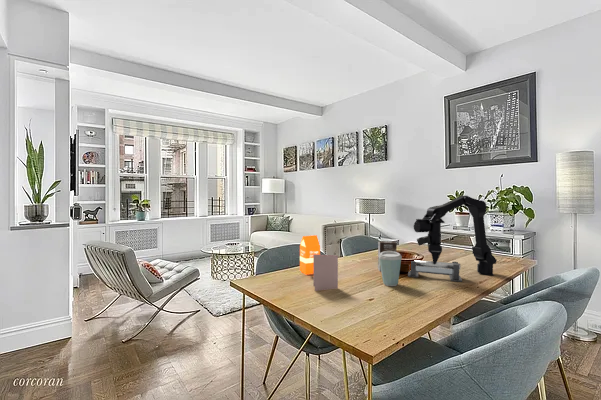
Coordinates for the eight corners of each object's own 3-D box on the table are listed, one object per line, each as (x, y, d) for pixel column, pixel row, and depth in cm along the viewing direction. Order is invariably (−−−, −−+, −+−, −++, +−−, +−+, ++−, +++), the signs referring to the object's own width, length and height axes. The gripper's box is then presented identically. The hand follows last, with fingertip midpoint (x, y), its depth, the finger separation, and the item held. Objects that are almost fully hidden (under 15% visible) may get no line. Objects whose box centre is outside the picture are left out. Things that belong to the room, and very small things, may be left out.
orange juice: (299, 271, 169) (299, 235, 169) (313, 269, 173) (313, 234, 172) (305, 274, 162) (305, 237, 162) (320, 272, 166) (320, 236, 165)
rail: (459, 268, 154) (459, 263, 154) (460, 270, 151) (460, 264, 151) (409, 264, 163) (409, 259, 163) (409, 265, 160) (409, 260, 160)
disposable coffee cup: (403, 288, 139) (403, 255, 138) (378, 287, 141) (378, 254, 141) (400, 281, 149) (400, 251, 149) (377, 280, 152) (377, 250, 151)
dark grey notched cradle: (460, 277, 157) (460, 261, 157) (462, 282, 149) (462, 265, 148) (408, 272, 166) (408, 257, 166) (407, 276, 158) (408, 261, 158)
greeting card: (338, 287, 141) (338, 255, 140) (335, 292, 133) (335, 258, 133) (313, 285, 144) (313, 253, 143) (310, 290, 136) (310, 257, 136)
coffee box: (379, 271, 168) (379, 242, 168) (377, 268, 174) (377, 240, 174) (396, 272, 167) (396, 242, 167) (394, 269, 174) (394, 241, 173)
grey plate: (456, 270, 170) (456, 269, 170) (458, 275, 160) (458, 274, 160) (410, 266, 179) (410, 265, 179) (409, 271, 169) (409, 270, 169)
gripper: (417, 228, 168) (417, 257, 169) (417, 233, 151) (417, 264, 151) (440, 229, 164) (439, 258, 165) (442, 234, 147) (442, 266, 147)
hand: (434, 261), depth 157 cm, fingers open, 9 cm apart
